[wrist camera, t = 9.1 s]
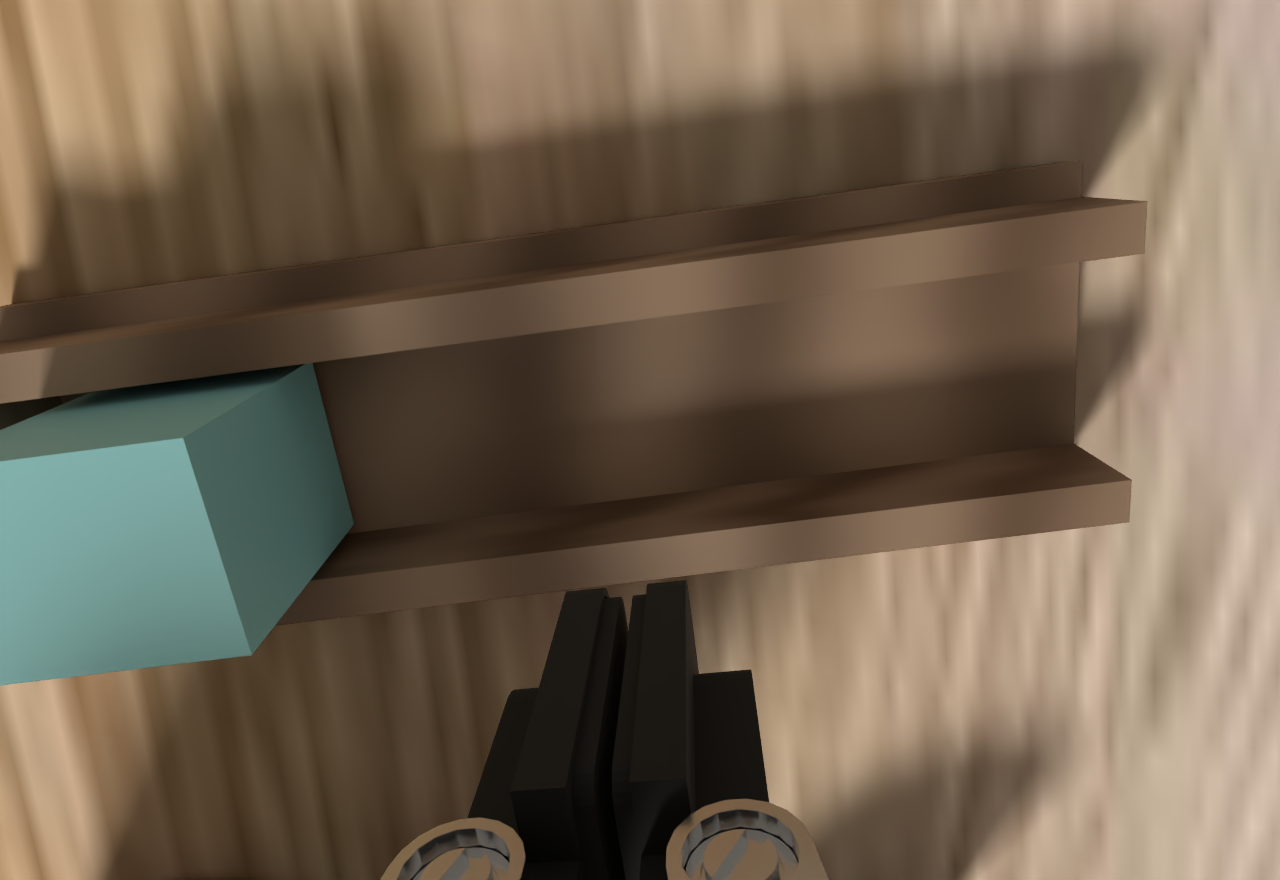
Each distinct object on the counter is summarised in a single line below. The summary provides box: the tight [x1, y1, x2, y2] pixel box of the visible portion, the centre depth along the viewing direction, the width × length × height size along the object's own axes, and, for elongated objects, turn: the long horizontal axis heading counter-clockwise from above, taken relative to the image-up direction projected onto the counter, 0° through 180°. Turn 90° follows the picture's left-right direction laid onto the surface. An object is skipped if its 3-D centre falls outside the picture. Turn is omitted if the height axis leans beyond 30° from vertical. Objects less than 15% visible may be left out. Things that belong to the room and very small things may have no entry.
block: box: [0, 363, 354, 685], centre depth 21 cm, size 6×5×7 cm
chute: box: [0, 162, 1147, 625], centre depth 23 cm, size 30×10×4 cm, turn 97°
